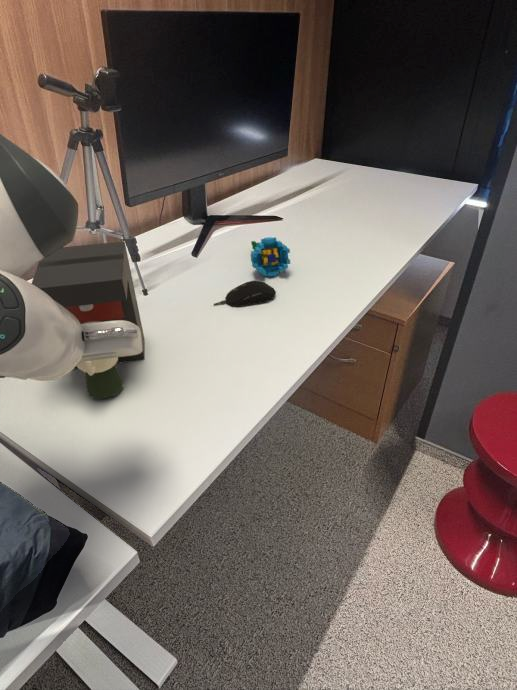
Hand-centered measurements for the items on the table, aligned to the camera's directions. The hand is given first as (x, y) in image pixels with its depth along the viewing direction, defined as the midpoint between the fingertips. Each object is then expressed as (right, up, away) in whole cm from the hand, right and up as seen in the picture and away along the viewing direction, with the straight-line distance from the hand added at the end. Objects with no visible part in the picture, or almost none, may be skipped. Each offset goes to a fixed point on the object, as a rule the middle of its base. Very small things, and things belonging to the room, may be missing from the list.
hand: (73, 355), depth 67 cm
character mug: (-2, -7, +21) cm, 22 cm away
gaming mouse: (+23, +12, +45) cm, 51 cm away
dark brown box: (-3, -2, +26) cm, 27 cm away
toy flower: (+28, +22, +58) cm, 68 cm away
